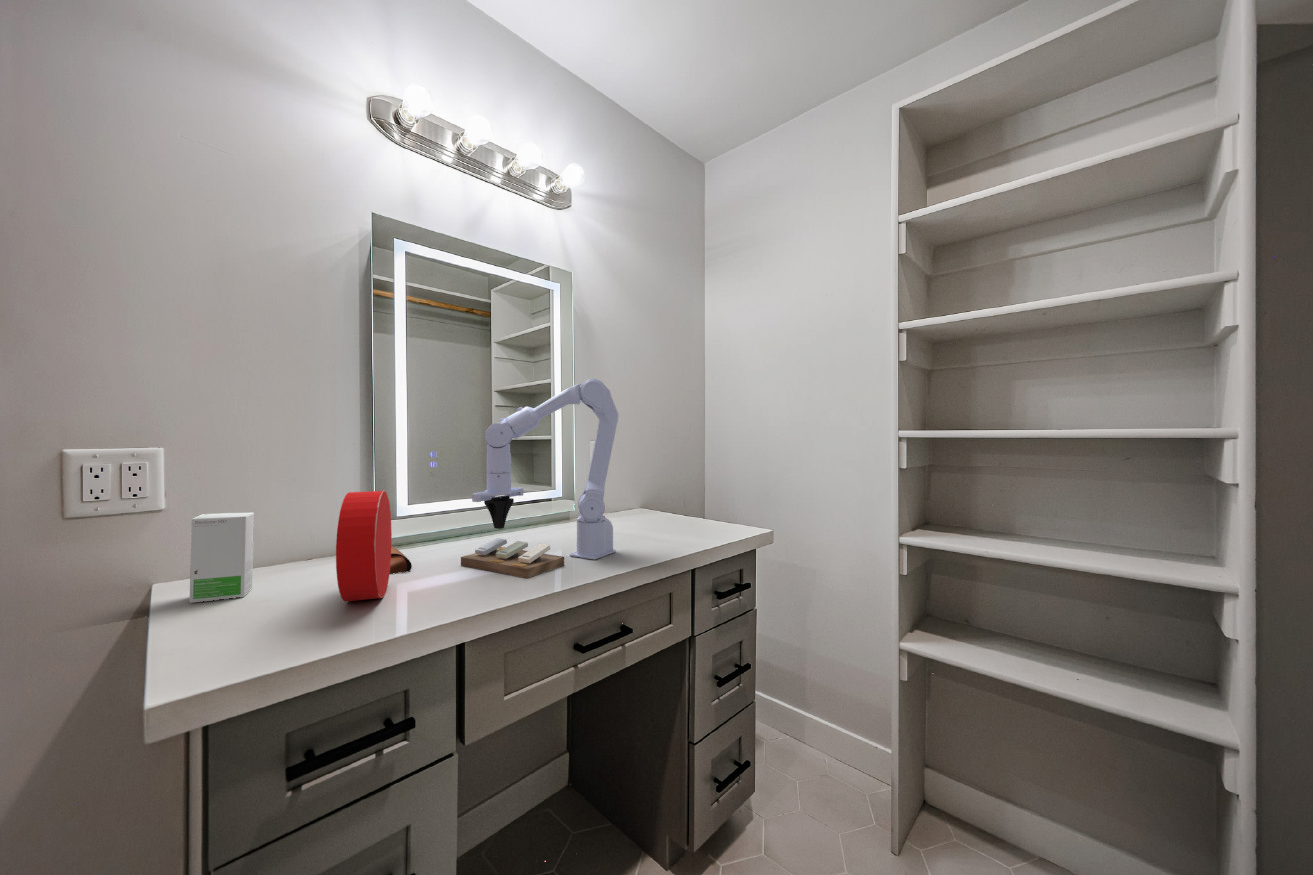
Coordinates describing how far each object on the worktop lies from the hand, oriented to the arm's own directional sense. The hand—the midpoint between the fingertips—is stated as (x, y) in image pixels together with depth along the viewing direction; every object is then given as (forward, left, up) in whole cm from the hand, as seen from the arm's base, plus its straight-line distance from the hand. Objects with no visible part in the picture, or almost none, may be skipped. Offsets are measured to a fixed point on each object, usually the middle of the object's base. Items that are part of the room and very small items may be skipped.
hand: (499, 528), depth 123 cm
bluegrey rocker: (+2, 0, -4) cm, 5 cm away
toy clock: (+32, 0, -8) cm, 33 cm away
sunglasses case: (+17, -19, -8) cm, 27 cm away
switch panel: (+2, +7, -8) cm, 11 cm away
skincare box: (+45, -25, -8) cm, 53 cm away
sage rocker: (+2, +7, -4) cm, 9 cm away
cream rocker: (+2, +14, -4) cm, 15 cm away
